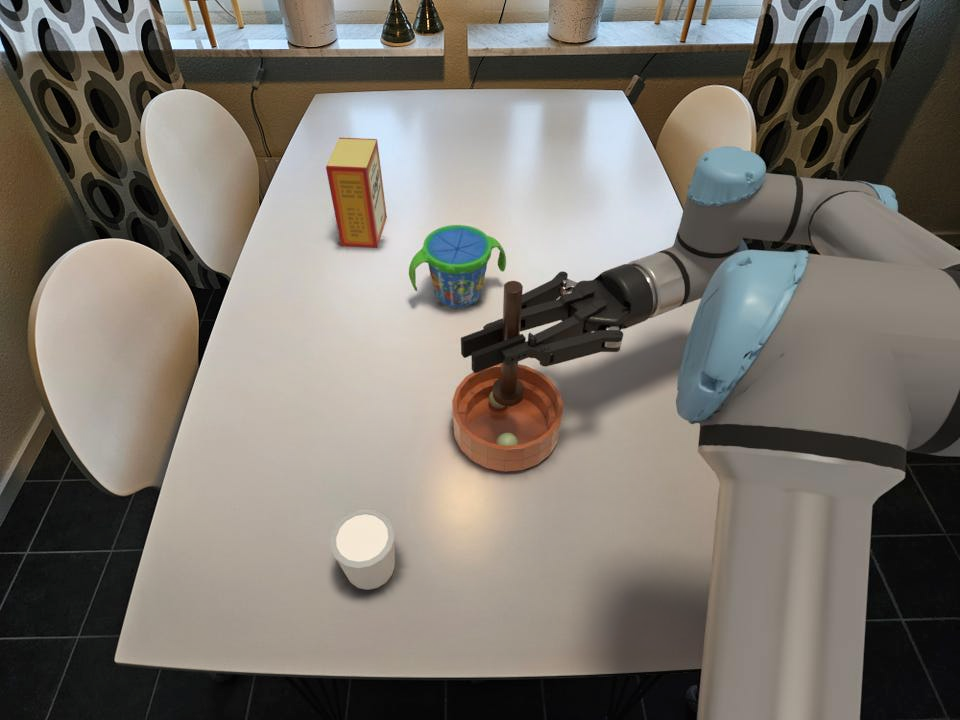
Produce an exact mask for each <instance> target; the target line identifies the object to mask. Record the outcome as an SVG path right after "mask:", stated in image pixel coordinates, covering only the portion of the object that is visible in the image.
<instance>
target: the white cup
mask: <svg viewBox="0 0 960 720" xmlns="http://www.w3.org/2000/svg"><path fill="white" fill-rule="evenodd" d="M329 540H330V541H329V542H330V550H331V552H332V554H333V556H334V558H335V559H336V561H337V563H338V564H339V566H340V568H341V570H342V571H343V573H344V575H345V576H346V577H347V579H348V581H349V583H351V584H352V585H353V586H354V587H356V588H357V589H362V590H366V591H368V590H374V589H378V588H380V587H381V586H383V585H385V584H386V583H387V582H388V581H389V580H390V578H391V577H392V576H393V573H394V569H395V567H396V559H395V558H396V557H395V555H396V554H395V532H394V525H393V524H392V523H391V520H390V519H389V518H388V516H386V515H384V514H383V513H382V512H380V511H378V510H373V509H369V508H364V509H358V510H353V511H352V512H349V513H347V514H346V515H344V516H342V518H341V519H340V520H339V521H338V522H337V523H336V524H335V525H334V527H333V530H332V532H331V534H330V537H329Z"/></svg>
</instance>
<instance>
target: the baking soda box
mask: <svg viewBox="0 0 960 720" xmlns="http://www.w3.org/2000/svg"><path fill="white" fill-rule="evenodd" d="M378 144H379V143H378V139H377V138H359V137H357V138H355V137H338V139H337V141H336V143H335V146H334V148H333V150H332V152H331V154H330V157H329V159H328V161H327V164H326V166H325V171H326V175H327V180H328V181H327V182H328V186H329V191H330V196H331V200H332V204H333V205H332V207H333V211H334V216H335V222H336V227H337V231H338V237H339V242H340V246H341V247H350V248H351V247H352V248H373V249H374V248H375V249H379V248H378V247H379V244H380V241H381V237H382V234H383V230H384V228H385V224H386V220H387V218H388V217H387V208H386V207H387V206H386V199H385V192H384V183H383V176H382V167H381V160H380V152H379V145H378Z"/></svg>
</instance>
